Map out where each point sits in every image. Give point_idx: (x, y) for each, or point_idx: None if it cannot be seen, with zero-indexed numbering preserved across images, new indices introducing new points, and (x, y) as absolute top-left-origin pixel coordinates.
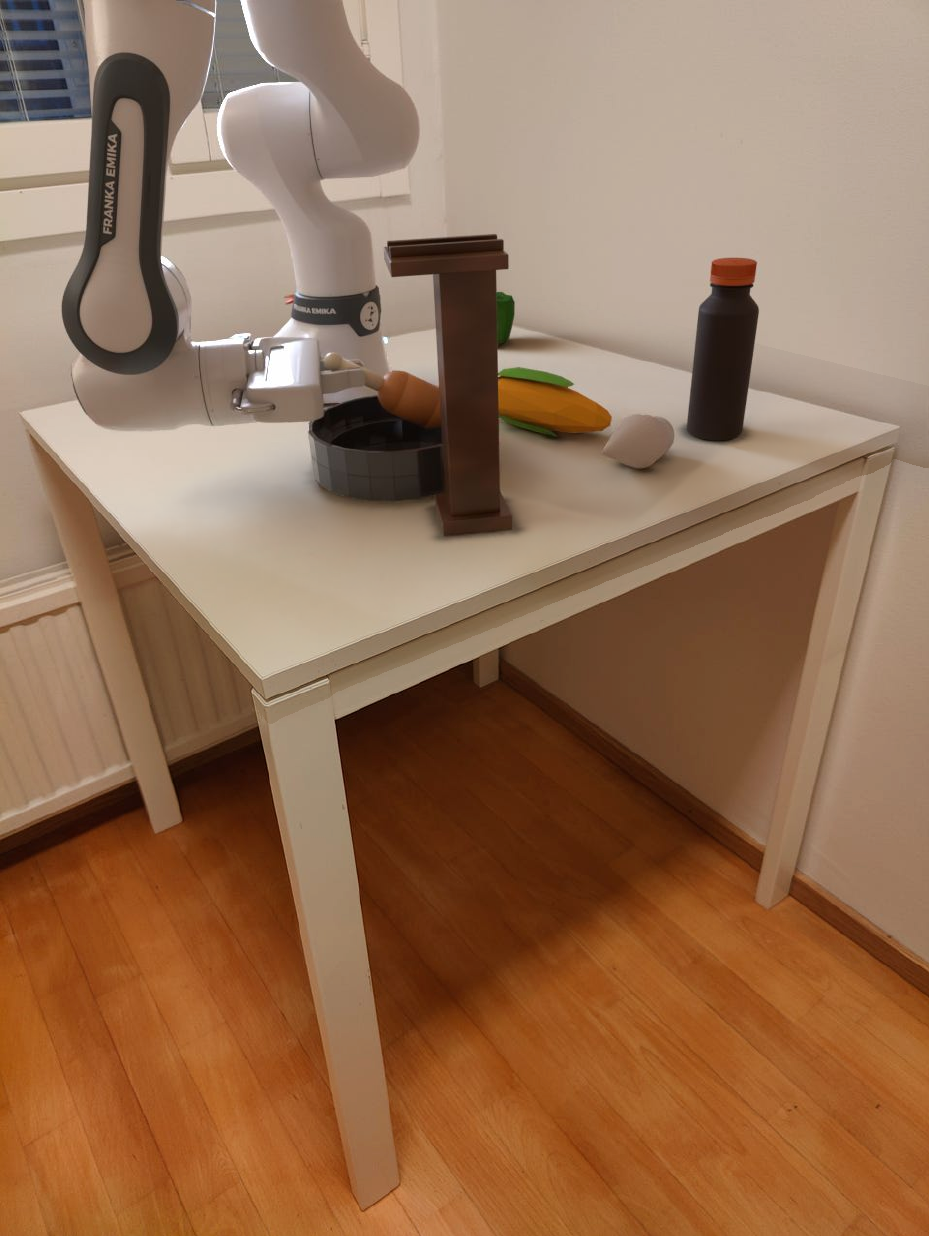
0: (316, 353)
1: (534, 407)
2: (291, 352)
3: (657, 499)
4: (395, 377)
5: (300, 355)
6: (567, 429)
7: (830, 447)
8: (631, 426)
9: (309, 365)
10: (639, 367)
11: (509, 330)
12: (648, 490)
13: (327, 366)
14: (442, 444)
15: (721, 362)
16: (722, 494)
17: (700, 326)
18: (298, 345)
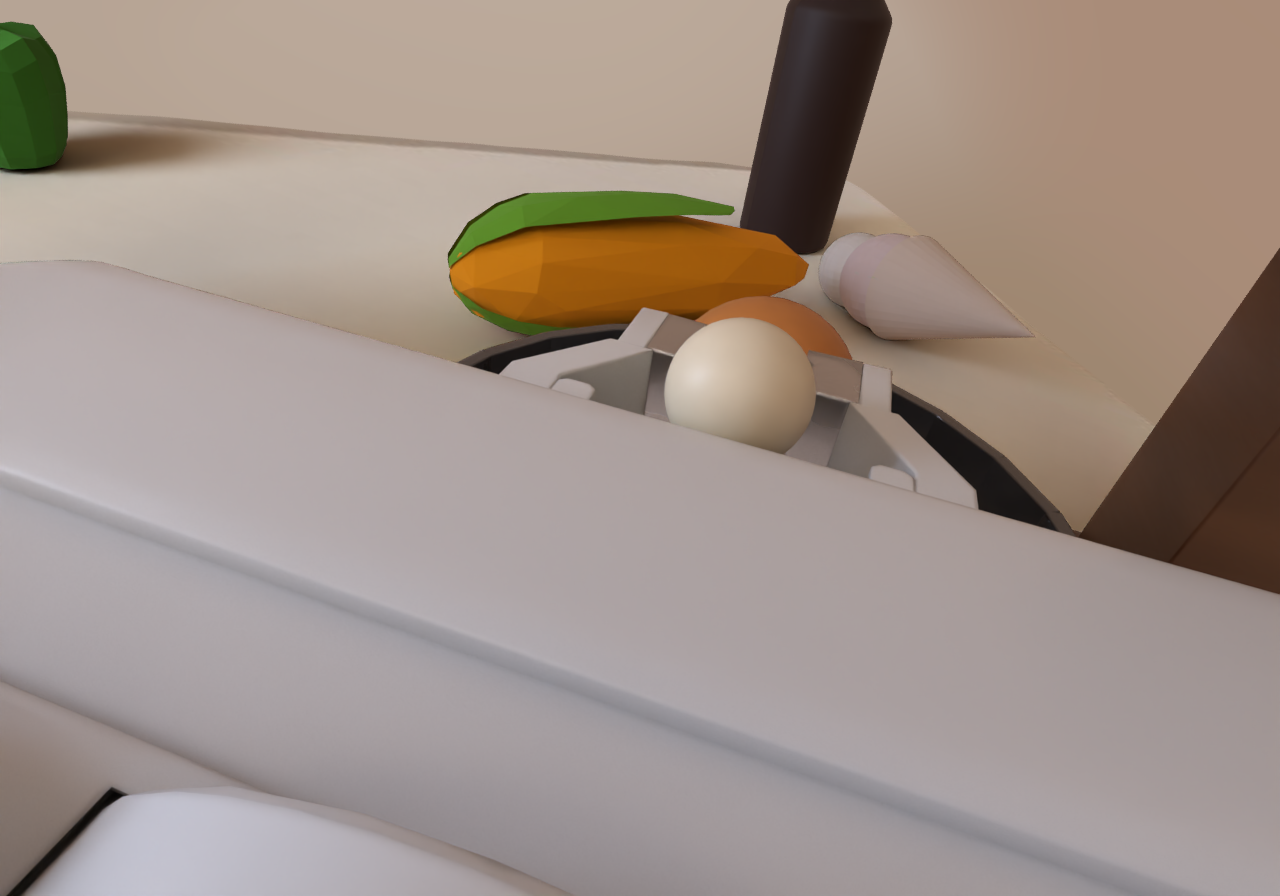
0: (508, 379)
1: (670, 283)
2: (274, 481)
3: (1045, 379)
4: (823, 336)
5: (483, 468)
6: None
7: (891, 220)
8: (954, 263)
9: (917, 532)
10: (440, 159)
11: (67, 119)
12: (1001, 370)
13: (784, 446)
14: (1229, 514)
15: (858, 115)
16: (1034, 330)
17: (832, 49)
18: (105, 369)
